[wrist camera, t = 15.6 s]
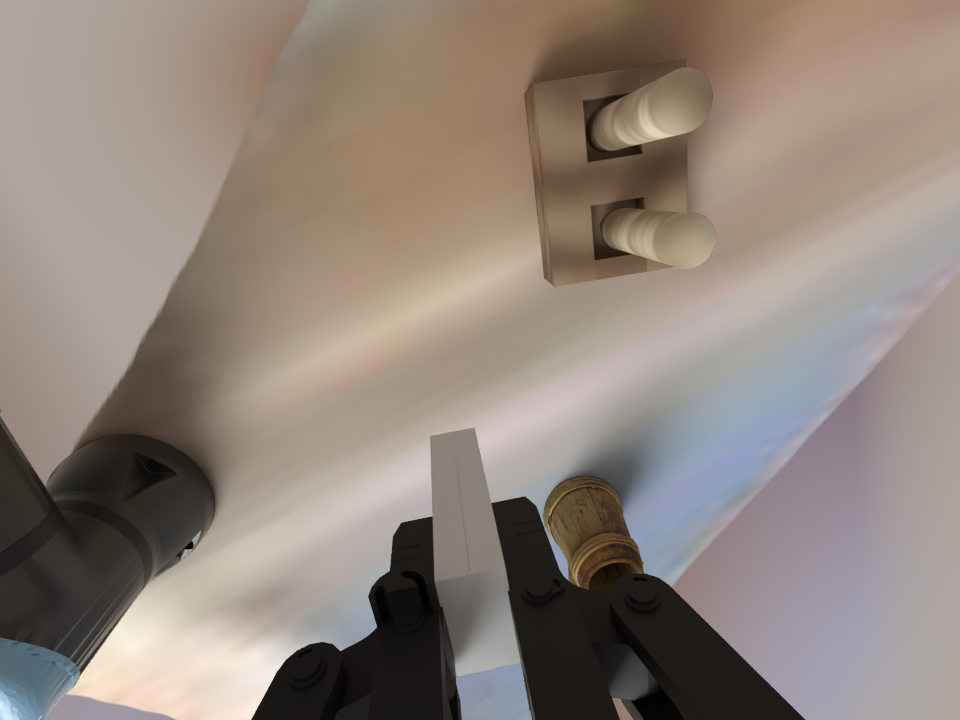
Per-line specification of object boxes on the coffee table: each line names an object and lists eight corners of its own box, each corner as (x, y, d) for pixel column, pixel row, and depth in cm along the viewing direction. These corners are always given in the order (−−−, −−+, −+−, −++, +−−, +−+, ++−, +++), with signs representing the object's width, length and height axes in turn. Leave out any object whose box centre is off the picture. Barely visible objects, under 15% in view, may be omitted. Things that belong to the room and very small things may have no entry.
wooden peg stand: (665, 258, 48) (775, 289, 32) (544, 278, 47) (595, 320, 32) (661, 72, 42) (789, 3, 27) (524, 94, 42) (574, 36, 27)
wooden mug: (508, 554, 58) (537, 705, 41) (570, 463, 54) (629, 587, 37) (571, 580, 60) (624, 734, 43) (634, 494, 56) (718, 624, 39)
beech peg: (630, 203, 43) (716, 208, 30) (632, 243, 44) (716, 265, 31) (592, 209, 43) (661, 217, 30) (594, 249, 44) (662, 273, 31)
